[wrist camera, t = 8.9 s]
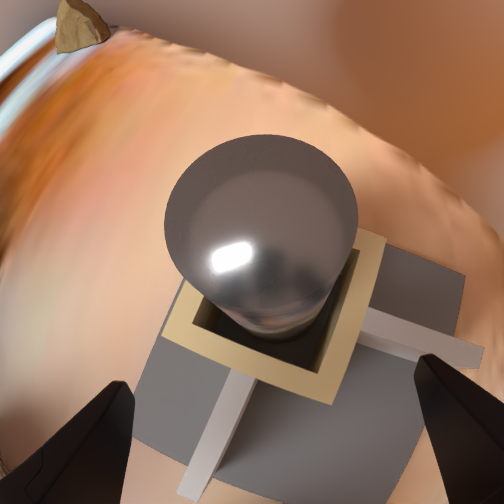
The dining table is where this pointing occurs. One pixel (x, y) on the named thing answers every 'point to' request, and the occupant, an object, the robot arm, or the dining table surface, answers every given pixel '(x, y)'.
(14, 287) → the dining table surface
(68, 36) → the rock
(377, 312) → the grey plate with frame
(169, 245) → the hinge pin
